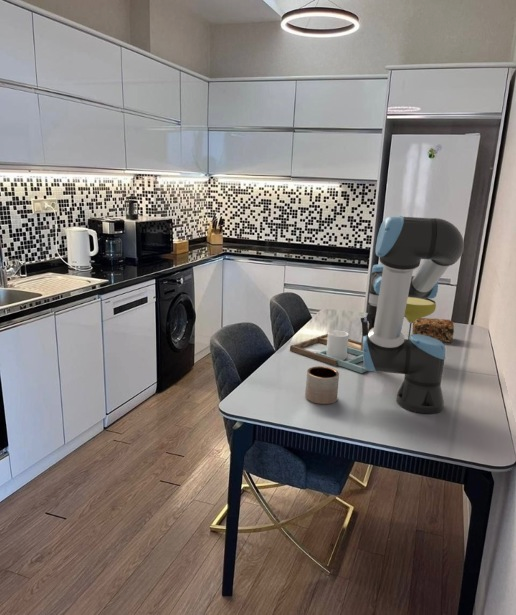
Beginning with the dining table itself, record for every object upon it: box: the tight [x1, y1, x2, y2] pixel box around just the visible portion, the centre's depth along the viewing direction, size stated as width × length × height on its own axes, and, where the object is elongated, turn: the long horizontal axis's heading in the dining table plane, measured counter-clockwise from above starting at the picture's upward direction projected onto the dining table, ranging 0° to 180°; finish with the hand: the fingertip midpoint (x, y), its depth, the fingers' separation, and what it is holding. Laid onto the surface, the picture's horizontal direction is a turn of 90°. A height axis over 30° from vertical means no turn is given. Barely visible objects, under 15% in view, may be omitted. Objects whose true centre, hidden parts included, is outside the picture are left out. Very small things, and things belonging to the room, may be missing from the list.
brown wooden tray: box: [289, 333, 363, 367], centre depth 210 cm, size 29×24×2 cm
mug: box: [326, 329, 349, 361], centre depth 202 cm, size 9×12×11 cm
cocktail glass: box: [404, 297, 437, 339], centre depth 205 cm, size 18×18×25 cm
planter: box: [304, 365, 340, 405], centre depth 161 cm, size 11×11×10 cm
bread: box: [411, 317, 455, 343], centre depth 233 cm, size 19×11×10 cm, turn 73°
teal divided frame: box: [316, 347, 368, 374], centre depth 197 cm, size 17×22×12 cm
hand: (372, 360), depth 191 cm, fingers closed on teal divided frame, 2 cm apart
